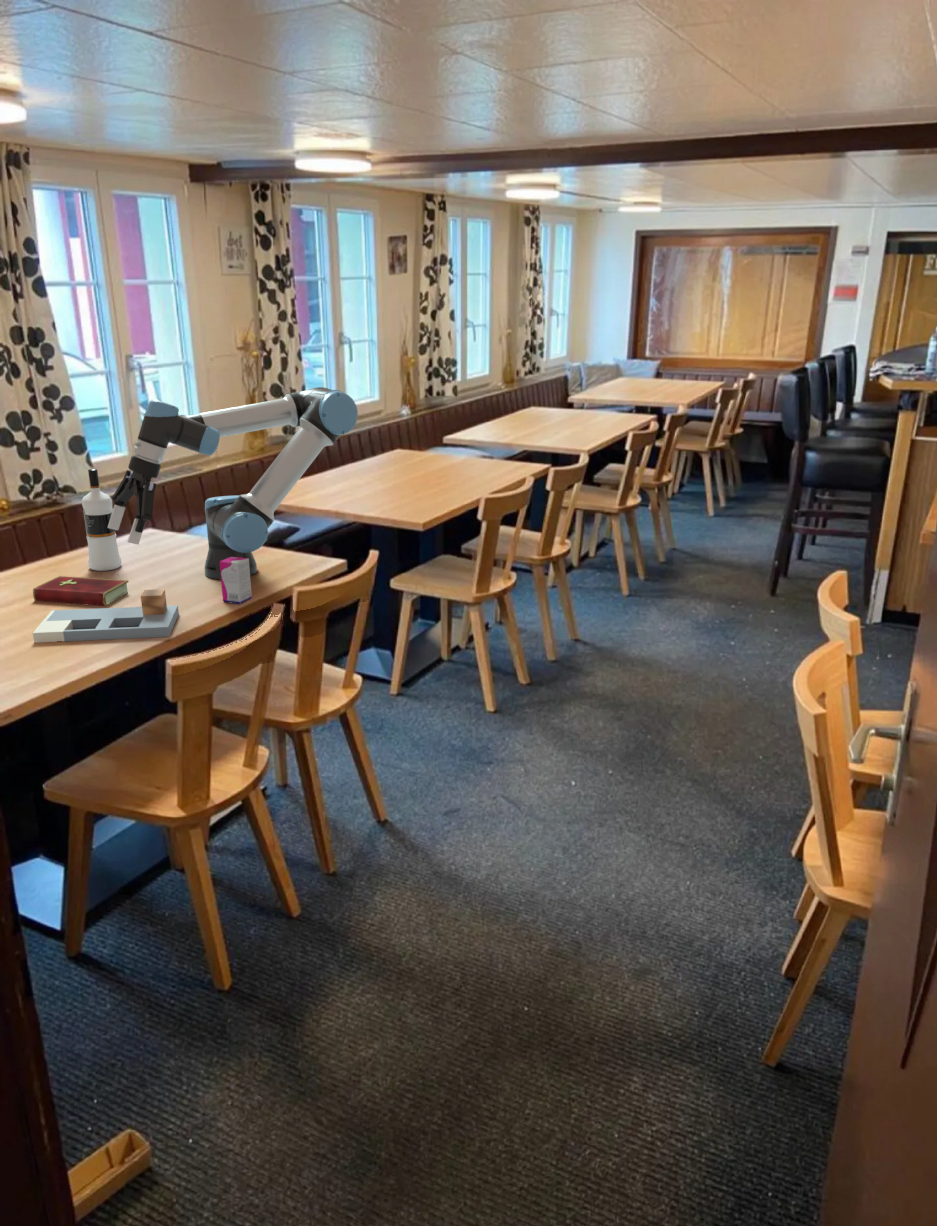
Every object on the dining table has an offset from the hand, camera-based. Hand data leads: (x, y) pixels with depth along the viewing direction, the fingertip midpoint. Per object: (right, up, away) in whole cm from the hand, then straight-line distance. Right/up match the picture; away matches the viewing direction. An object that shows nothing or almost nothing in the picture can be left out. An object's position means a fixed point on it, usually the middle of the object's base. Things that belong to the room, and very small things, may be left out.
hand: (122, 536), depth 230 cm
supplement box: (+28, -17, +9) cm, 34 cm away
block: (+11, -20, -8) cm, 24 cm away
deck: (+2, -24, -13) cm, 27 cm away
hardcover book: (-15, -16, +10) cm, 24 cm away
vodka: (-19, -7, +36) cm, 41 cm away
